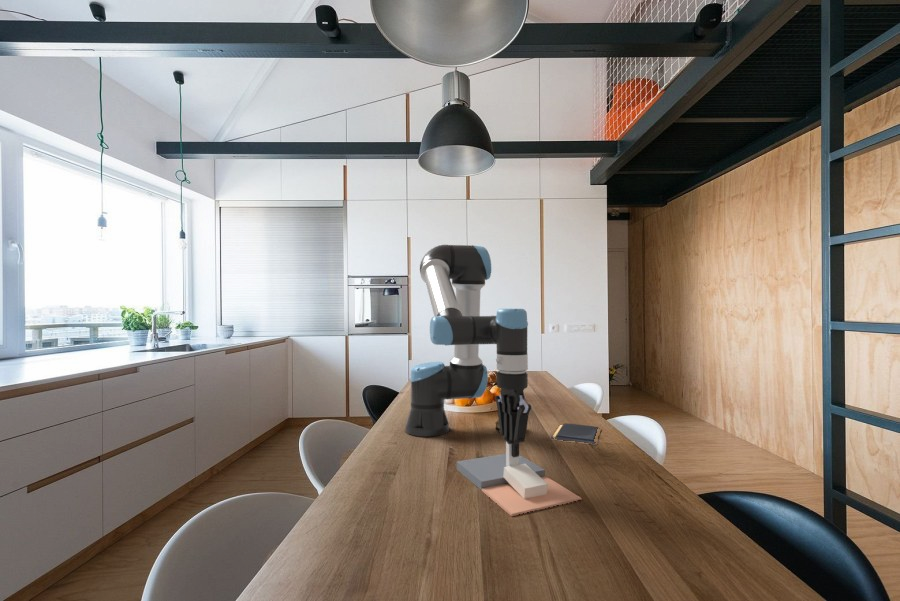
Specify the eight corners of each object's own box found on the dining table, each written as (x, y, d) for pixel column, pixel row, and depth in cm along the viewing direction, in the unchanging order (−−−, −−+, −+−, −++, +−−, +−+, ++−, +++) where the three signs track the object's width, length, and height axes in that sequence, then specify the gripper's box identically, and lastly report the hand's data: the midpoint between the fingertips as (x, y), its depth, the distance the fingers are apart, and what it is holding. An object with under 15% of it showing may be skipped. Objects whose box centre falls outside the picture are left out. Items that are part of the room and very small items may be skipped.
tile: (503, 477, 99) (504, 467, 98) (524, 473, 101) (525, 463, 101) (524, 499, 90) (525, 488, 90) (546, 494, 93) (547, 483, 92)
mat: (481, 490, 96) (481, 488, 96) (545, 478, 103) (545, 476, 103) (511, 516, 84) (511, 513, 84) (581, 500, 91) (581, 498, 91)
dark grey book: (596, 441, 127) (547, 435, 134) (596, 448, 127) (547, 441, 134) (603, 425, 145) (559, 420, 152) (603, 431, 145) (559, 425, 152)
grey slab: (456, 469, 109) (456, 461, 109) (514, 459, 116) (514, 452, 116) (481, 490, 96) (481, 481, 96) (545, 477, 103) (545, 469, 103)
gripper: (485, 368, 105) (486, 461, 105) (513, 376, 93) (513, 481, 93) (511, 367, 108) (511, 457, 108) (540, 374, 96) (541, 476, 96)
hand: (512, 468), depth 100 cm, fingers closed
